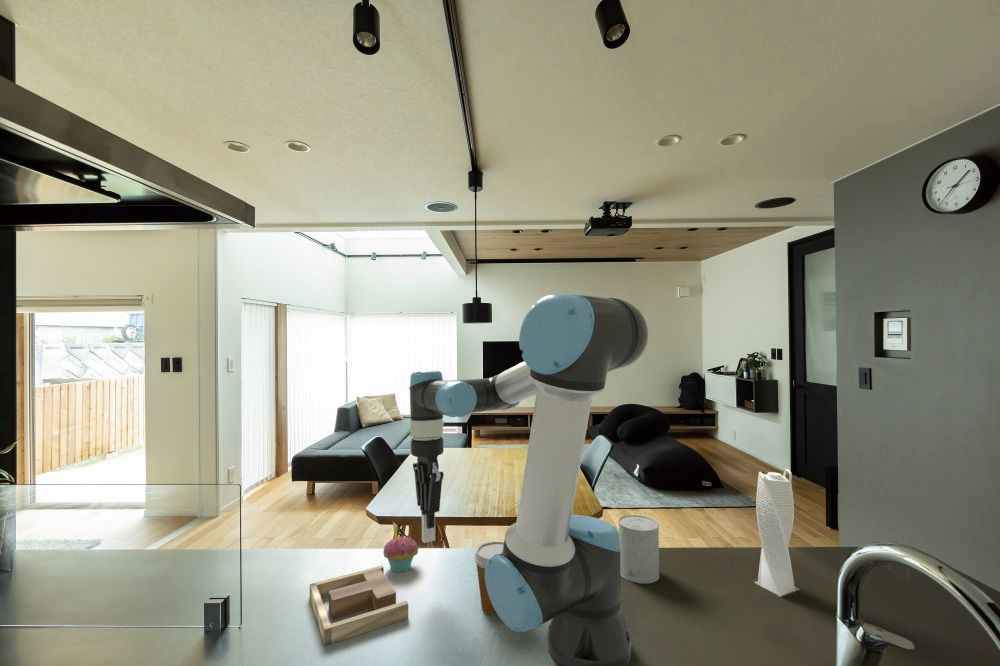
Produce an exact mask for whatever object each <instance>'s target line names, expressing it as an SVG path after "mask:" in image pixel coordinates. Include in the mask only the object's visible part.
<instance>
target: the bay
mask: <svg viewBox="0 0 1000 666" xmlns="http://www.w3.org/2000/svg"><path fill="white" fill-rule="evenodd" d="M379 568H380V569H381V571H382V572H383V574H384V575H385V573H384V572H385V569H384V568H385V567H384V566H383V565H378V566H374V567H371V568H367V569H363V570H359V571H355V572H352V573H348V574H343V575H341V576H340V575H339V576H335V577H332V578H328V579H324V580H321V581H317V582H313V583H310V584H309V600H310V603H311V607H312V610H313V613H314V616H315V618H316V623H317V626H318V628H319V633H320V635H321V639H322V641H323V645H324V647H325V646H329V645H331V644H334V643H338V642H341V641H344V640H347V639H350V638H352V637H353V638H354V637H356V636H359V635H362V634H365V633H368V632H371V631H374V630H377V629H380V628H383V627H386V626H390V625H392V624H394V623H395V624H396V623H399V622H402V621H405V620H407V619H409V602H408V601H407V600H404V601H401V602H396V604H394V605H390V606H387V607H384V608H381V609H377V610H374V611H373V610H372V611H369V612H368V611H367V612H365V613H361V614H358V615H355V616H353V617H349V618H345V619H341V620H339V621H336V622H332V623H331V622H330V619H329V617H328V614H327V611H326V608H325V606H324V603H323V599H322V598H324V597H329V591H331V590H335V589H338V588H342V587H346V586H349V585H353V584H357V583H361V582H362V573H364V572H368V571H371V570H375V569H379Z"/></svg>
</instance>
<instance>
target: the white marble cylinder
mask: <svg viewBox="0 0 1000 666" xmlns="http://www.w3.org/2000/svg"><path fill="white" fill-rule="evenodd" d="M659 528H660V525H659V522H658V521H656V520H655V519H653V518H651V517H648V516H646V515H645V516H643V515H639V514H638V515H637V514H636V515H635V514H631V515H630V514H629V515H624V516H621V517H619V518H618V533H619V536H620V548H621V552H620V573H621V578H623V579H625V580H627V581H629V580H630V582H633V583H635V582H636V583H637V584H644V585H645V584H652V583H656V582H657V581H658V580H659V579H660V555H659V554H660V549H659V548H660V545H659V544H660V539H659V538H660V537H659V536H660V535H659Z"/></svg>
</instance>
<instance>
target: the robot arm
mask: <svg viewBox="0 0 1000 666" xmlns="http://www.w3.org/2000/svg"><path fill="white" fill-rule="evenodd" d="M518 337H519V338H518V345H519V349H520V351H522V354H521V357H522V359H523V361H522V362H519V363H518V364H516V365H515V366H511V367H510V368H508V369H506V370H504V371H502V372H500V373H498V374H497V375H496V374H495V375H494V376H492V377H488V378H487V377H486V378H469V379H456V380H455V379H454V380H453V379H451V380H450V379H449V380H448V379H446V380H444V379H443V373H442V372H441V371H440V370H418V371H412V372H411V374H410V378H409V379H410V382H409V383H410V384H409V397H410V398H409V401H410V402H409V404H410V405H409V406H410V408H409V409H410V411H409V412H410V413H409V414H410V419H409V424H410V425H409V426H410V429H409V430H410V431H409V432H410V436H411V440H410V454H411V455H412V456H413V457H415V458H416V461H417V462H414V463H413V464H412V469H413V472H414V480H415V482H414V483H415V484H414V485H415V493H416V501H417V502H416V504H417V506H418V507H419V510H420V511H421V512H420V513H421V542H422V543H424V544H426V543H430V542H434V541H436V513H438V512H440V508H441V495H442V494H441V493H442V485H443V484H442V483H443V479H444V471H439V469H440V468H439V459H438V457H439V456H441V455H443V453H444V438H443V437H442V436H443V435H444V425H445V421H444V416H446V417H450V418H456V417H457V418H464V417H467V416H468V415H470V414H475V413H482V412H489V411H506V410H509V409H513V408H516V407H517V406H519V404H520V402H521V401H524V400H526V399H529V398H531V397H534V396H535V400H534V407H533V414H532V419H531V425H530V435H529V438H528V439H529V440H528V446H527V453H526V459H525V465H524V469H523V470H524V471H523V477H522V485H521V491H520V498H519V504H518V510H517V516H516V517H517V518H516V522H514V523H513V524H511V525H510V526H509V527H508V528H507V529H506V531H505V535H504V541H503V542H504V545H503V551H502V553H501V554H495V555H494V556H493V557H492V558H490V559H489V560H488V561H487V563H486V567H485V583H486V588H487V592H488V595H489V598H490V600H491V603H492V605H493V607H494V609H495V611H496V613H497V614H498V615H497V616H498V617H499V618H500V620H501V621H502V622H503V623H504V624H505V625H506V626H507V627H508V628H509V629H511V630H512V631H515V632H517V633H526V632H529V631H530V630H533V629H535V628H540V627H542V626H543V625H545V623H547V622H549V621H550V622H549V625H548V628H547V650H548V652H549V655H550V656H551V657H552V659H553V660H554V661H555V662H556V663H557V664H558V665H559V666H628V665H629V663H630V661H631V658H632V641H631V636H630V633H629V632H628V628H627V624H626V622H625V620H626V619H625V618H624V615H623V611H622V609H621V608H622V607H621V605H622V604H621V603H622V602H621V599H622V598H621V596H622V595H621V589H622V588H621V585H622V583H621V578H622V576H621V573H620V552H621V548H620V536H619V530H618V529H617V527H616V526H614V525H613V524H612V523H610V522H608V521H605V520H604V519H600V518H597V517H593V516H589V515H582V514H573V509H574V504H575V503H574V502H575V498H576V492H577V486H578V481H579V476H580V469H581V463H582V458H583V453H584V452H583V451H584V447H585V441H586V435H587V430H588V423H589V420H590V419H589V418H590V413H591V408H592V401H593V398H594V397H596V396H597V395H599V394H601V393H602V392H603V391H605V385H606V382H607V381H606V380H607V375H608V373H609V372H613V371H615V370H618V369H621V368H626V367H629V366H630V365H631V364H633V363H635V362H636V361H638V360H639V358H640V357H641V356H642V355H643V353H644V352H645V350H646V348H647V344H648V339H649V328H648V323H647V321H646V319H645V317H644V315H643V314H642V312H641V311H640V310H639V308H637V307H636V306H634V305H633V304H631V303H630V302H628V301H626V300H623V299H620V298H614V297H602V296H592V295H585V294H577V293H554V294H549V295H545V296H543V297H542V298H540V299H538V301H537V302H536V303H534V304H533V305H532V306H531V307H530V308H529V309H528V311H527V312H526V314H525V316H524V318H523V321H522V324H521V326H520V330H519V336H518Z"/></svg>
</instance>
